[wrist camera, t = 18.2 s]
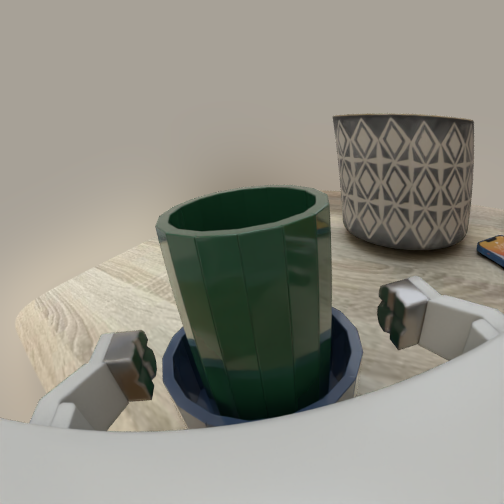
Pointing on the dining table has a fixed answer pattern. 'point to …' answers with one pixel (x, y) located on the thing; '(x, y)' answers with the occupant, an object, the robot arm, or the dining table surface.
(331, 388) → the wide cup
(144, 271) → the dining table surface
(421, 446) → the robot arm
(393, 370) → the dining table surface
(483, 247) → the smartphone
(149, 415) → the dining table surface
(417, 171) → the planter
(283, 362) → the slim cup
